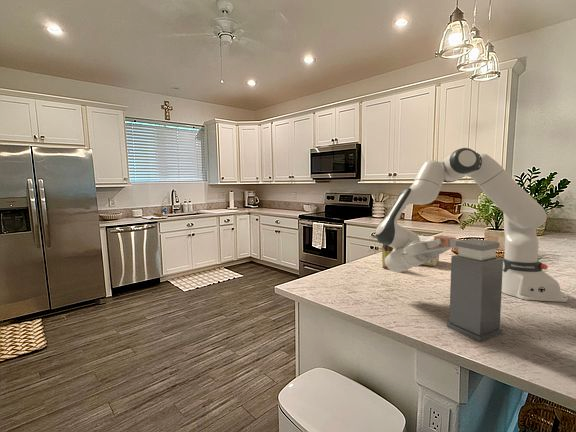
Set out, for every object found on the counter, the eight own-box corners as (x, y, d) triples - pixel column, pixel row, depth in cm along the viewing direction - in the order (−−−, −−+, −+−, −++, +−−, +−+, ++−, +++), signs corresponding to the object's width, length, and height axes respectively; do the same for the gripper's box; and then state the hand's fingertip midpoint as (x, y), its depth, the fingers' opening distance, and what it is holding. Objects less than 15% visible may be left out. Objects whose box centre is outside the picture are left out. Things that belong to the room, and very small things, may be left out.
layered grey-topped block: (496, 316, 95) (499, 242, 92) (479, 322, 91) (482, 245, 89) (443, 297, 111) (445, 234, 109) (428, 301, 107) (429, 236, 105)
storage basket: (392, 262, 181) (392, 237, 179) (400, 256, 194) (400, 233, 192) (436, 267, 167) (437, 241, 165) (441, 261, 180) (442, 236, 179)
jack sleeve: (502, 333, 95) (506, 258, 92) (480, 342, 90) (483, 263, 87) (468, 319, 105) (470, 251, 102) (446, 326, 100) (449, 255, 97)
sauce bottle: (384, 265, 173) (385, 231, 171) (395, 267, 169) (396, 232, 167) (380, 268, 168) (380, 233, 166) (391, 270, 164) (391, 234, 162)
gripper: (394, 248, 112) (421, 234, 101) (432, 241, 121) (461, 228, 109) (400, 264, 110) (428, 252, 98) (438, 256, 119) (469, 244, 107)
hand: (446, 239), depth 104 cm, fingers closed on layered grey-topped block, 4 cm apart
